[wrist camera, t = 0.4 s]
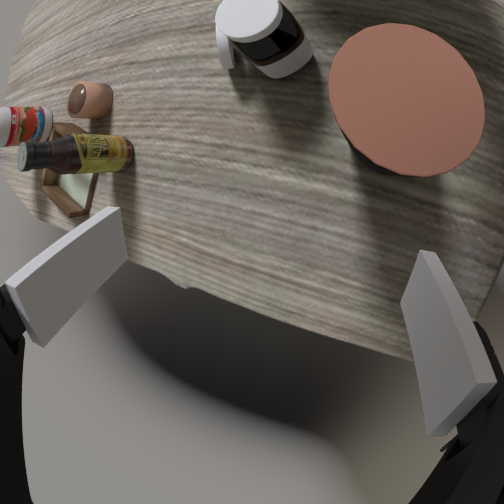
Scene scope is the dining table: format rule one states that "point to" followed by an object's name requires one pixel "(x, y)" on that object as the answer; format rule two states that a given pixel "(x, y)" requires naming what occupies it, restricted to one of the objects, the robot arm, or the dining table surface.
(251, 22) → the spread jar
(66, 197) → the wooden tray
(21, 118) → the fruit juice
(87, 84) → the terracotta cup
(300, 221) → the dining table surface
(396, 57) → the coffee jar
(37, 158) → the sauce bottle
